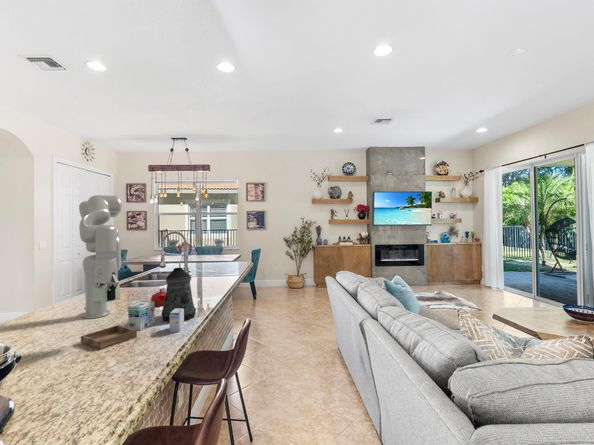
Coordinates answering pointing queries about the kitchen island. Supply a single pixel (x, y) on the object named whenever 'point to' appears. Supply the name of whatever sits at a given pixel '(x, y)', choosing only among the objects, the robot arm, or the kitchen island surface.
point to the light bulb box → (141, 315)
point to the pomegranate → (158, 298)
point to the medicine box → (176, 320)
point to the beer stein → (178, 295)
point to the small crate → (104, 294)
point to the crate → (108, 337)
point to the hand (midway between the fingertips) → (106, 298)
